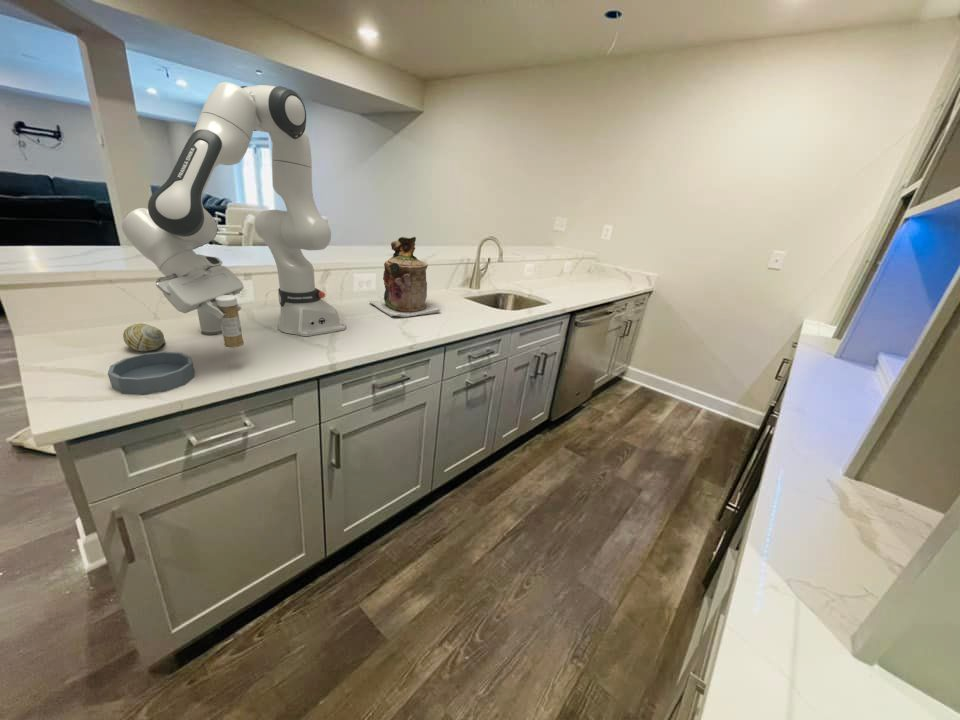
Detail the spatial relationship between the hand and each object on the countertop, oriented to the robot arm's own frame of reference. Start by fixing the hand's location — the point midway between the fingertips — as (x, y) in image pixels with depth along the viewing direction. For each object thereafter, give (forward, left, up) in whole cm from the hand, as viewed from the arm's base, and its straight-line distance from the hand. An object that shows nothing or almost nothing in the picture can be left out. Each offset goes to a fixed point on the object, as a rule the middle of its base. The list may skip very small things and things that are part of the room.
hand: (231, 313), depth 99 cm
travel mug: (+5, -30, -16) cm, 34 cm away
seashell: (+20, -22, -16) cm, 34 cm away
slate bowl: (+18, +1, -15) cm, 24 cm away
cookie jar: (-68, -41, -16) cm, 80 cm away
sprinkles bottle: (0, -1, -9) cm, 9 cm away
